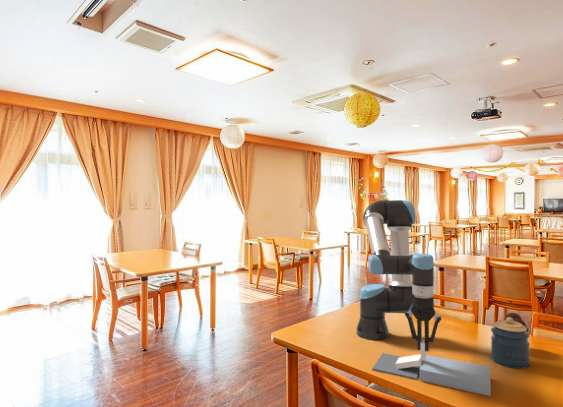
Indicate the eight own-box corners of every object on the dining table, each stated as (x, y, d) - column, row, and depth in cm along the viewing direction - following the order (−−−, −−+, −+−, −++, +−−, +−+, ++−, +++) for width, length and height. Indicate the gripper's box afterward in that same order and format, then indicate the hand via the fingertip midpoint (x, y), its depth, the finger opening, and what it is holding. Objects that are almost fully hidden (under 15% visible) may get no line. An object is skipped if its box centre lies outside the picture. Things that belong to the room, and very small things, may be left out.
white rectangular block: (397, 369, 137) (395, 363, 137) (400, 362, 142) (398, 357, 143) (420, 365, 133) (418, 360, 133) (423, 359, 138) (421, 354, 139)
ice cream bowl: (492, 343, 162) (492, 310, 162) (516, 342, 163) (516, 309, 163) (509, 353, 151) (509, 318, 151) (534, 352, 152) (534, 317, 152)
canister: (490, 364, 142) (490, 319, 142) (491, 352, 153) (491, 310, 153) (530, 372, 135) (530, 325, 135) (528, 359, 146) (528, 315, 146)
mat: (372, 369, 138) (372, 368, 138) (382, 354, 152) (382, 352, 152) (416, 379, 130) (416, 378, 130) (423, 362, 144) (423, 360, 144)
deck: (419, 380, 130) (419, 369, 130) (425, 364, 142) (425, 354, 142) (490, 396, 119) (490, 384, 119) (490, 377, 131) (490, 366, 131)
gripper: (402, 296, 135) (403, 359, 136) (440, 300, 129) (441, 366, 129) (406, 291, 142) (406, 351, 142) (442, 295, 136) (443, 358, 136)
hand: (423, 358), depth 136 cm, fingers closed
